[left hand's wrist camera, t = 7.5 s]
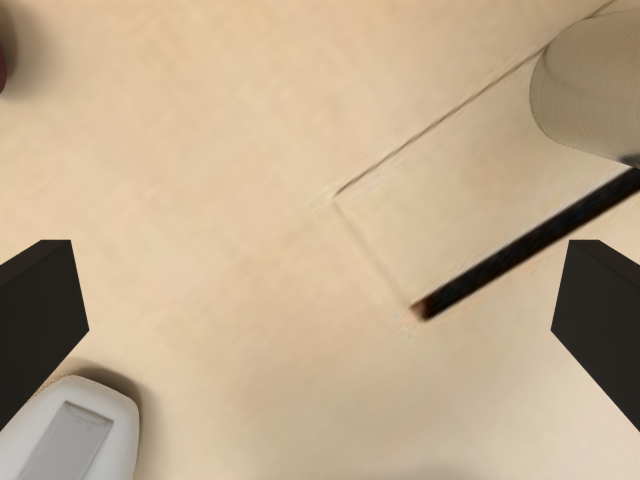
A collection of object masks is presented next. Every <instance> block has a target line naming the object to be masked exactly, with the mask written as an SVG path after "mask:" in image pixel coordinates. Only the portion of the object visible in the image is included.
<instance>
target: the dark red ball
mask: <svg viewBox="0 0 640 480" xmlns="http://www.w3.org/2000/svg"><path fill="white" fill-rule="evenodd" d="M6 76H7V68H6V63H5V57H4V52H3V49H2V47H1V44H0V93H1V92H2V90H3V89H4V87H5V82H6Z"/></svg>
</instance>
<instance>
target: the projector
mask: <svg viewBox="0 0 640 480" xmlns="http://www.w3.org/2000/svg"><path fill="white" fill-rule="evenodd" d="M138 444H139V412H138V408H137V405H136V404H135V402H134V401H133V400H131V399H130V398H129V397H127V396H125V395H123V394H121V393H119V392H117V391H115V390H113V389H111V388H109V387H107V386H104V385H102V384H100V383H97V382H95V381H92V380H89V379H86V378H84V377H81V376H77V375H69V376H66V377H63V378H61V379H59V380H57V381H56V382H54V383H52V384H51V385H49V386H48V387H47V388H45V389H44V390H42V391H41V392H40V393H38V394H37V395H36V396H35V397H33V398H32V399H31V400H30V401H28V402H27V403H26V404H25V405H24V406H23V407H22V408H21V409H20V410H19V411H18V412H17V413H16V415H15V416H14V417H13V418H12V419H11V420H10V421H9V423H8V424H7V425H6V426H5V427H4V428H3V429H2V431H1V432H0V480H133V476H134V471H135V466H136V460H137V452H138Z"/></svg>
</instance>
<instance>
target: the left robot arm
mask: <svg viewBox="0 0 640 480" xmlns="http://www.w3.org/2000/svg"><path fill="white" fill-rule="evenodd" d="M88 331H89V326H88V321H87V316H86V312H85V307H84V302H83V297H82V292H81V288H80V283H79V278H78V273H77V268H76V263H75V259H74V254H73V249H72V244H71V240H40V241H39V242H37V243H35V244H34V245H32V246H31V247H29V248H27V249H26V250H24V251H22V252H21V253H19V254H18V255H16V256H14V257H13V258H11V259H10V260H8V261H6V262H5V263H3V264H1V265H0V432H1V431H2V429H3V428H4V427H5V426H6V425H7V424H8V423H9V421H10V420H11V419H12V418H13V417H14V416H15V415H16V413H17V412H18V411H19V410H20V409H21V408H22V407H23V405H24V404H25V403H26V402H27V401H28V400H29V399H30V397H31V396H32V395H33V394H34V393H35V392H36V391H37V390H38V388H39V387H40V386H41V385H42V384H43V383H44V382H45V380H46V379H47V378H48V377H49V376H50V375H51V374H52V372H53V371H54V370H55V369H56V368H57V367H58V366H59V364H60V363H61V362H62V361H63V360H64V359H65V358H66V356H67V355H68V354H69V353H70V352H71V351H72V350H73V348H74V347H75V346H76V345H77V344H78V343H79V342H80V341H81V339H82V338H83V337H84V336H85V335H86V334H87V333H88ZM551 331H552V333H553V334H554V335H555V336H556V337H557V338H558V339H559V341H560V342H561V343H562V344H563V345H564V346H565V347H566V348H567V350H568V351H569V352H570V353H571V354H572V355H573V356H574V358H575V359H576V360H577V361H578V362H579V363H580V364H581V366H582V367H583V368H584V369H585V370H586V371H587V372H588V374H589V375H590V376H591V377H592V378H593V379H594V380H595V382H596V383H597V384H598V385H599V386H600V387H601V388H602V390H603V391H604V392H605V393H606V394H607V395H608V396H609V398H610V399H611V400H612V401H613V402H614V403H615V404H616V405H617V407H618V408H619V409H620V410H621V411H622V412H623V413H624V415H625V416H626V417H627V418H628V419H629V420H630V421H631V423H632V424H633V425H634V426H635V427H636V428H637V429H638V431H639V432H640V265H639V264H637V263H635V262H634V261H632V260H630V259H629V258H627V257H626V256H624V255H622V254H621V253H619V252H618V251H616V250H614V249H613V248H611V247H609V246H608V245H606V244H605V243H603V242H601V241H600V240H569V244H568V249H567V254H566V259H565V263H564V268H563V273H562V278H561V283H560V288H559V292H558V297H557V302H556V307H555V312H554V316H553V321H552V326H551Z"/></svg>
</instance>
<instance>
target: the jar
mask: <svg viewBox="0 0 640 480" xmlns="http://www.w3.org/2000/svg"><path fill="white" fill-rule="evenodd" d="M530 103H531V108H532V112H533V115H534V118H535V120H536V122H537V124H538V125H539V127H540V128H541V130H542V131H543V132H544V133H545V134H546V135H547V136H548V137H550V138H551V139H553V140H554V141H556V142H558V143H560V144H563V145H566V146H569V147H572V148H575V149H579V150H582V151H585V152H588V153H591V154H594V155H597V156H601V157H604V158H607V159H610V160H613V161H616V162H620V163H623V164H626V165H629V166H632V167H635V168H638V169H640V8H638V9H632V10H627V11H621V12H616V13H611V14H605V15H600V16H595V17H591V18H587V19H585V20H582V21H579V22H577V23H576V24H574V25H572V26H570V27H569V28H567V29H566V30H564V31H563V32H562V33H561V34H559V35H558V36H557V37H556V38H555V39H554V40H553V41H552V42H551V43H550V44H549V46H548V47H547V48H546V50H545V51H544V52H543V54H542V56H541V58H540V59H539V61H538V63H537V66H536V68H535V70H534V74H533V77H532V81H531V87H530Z"/></svg>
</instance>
